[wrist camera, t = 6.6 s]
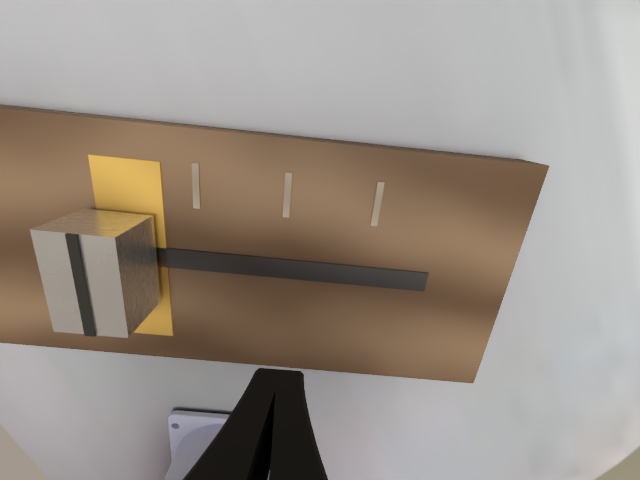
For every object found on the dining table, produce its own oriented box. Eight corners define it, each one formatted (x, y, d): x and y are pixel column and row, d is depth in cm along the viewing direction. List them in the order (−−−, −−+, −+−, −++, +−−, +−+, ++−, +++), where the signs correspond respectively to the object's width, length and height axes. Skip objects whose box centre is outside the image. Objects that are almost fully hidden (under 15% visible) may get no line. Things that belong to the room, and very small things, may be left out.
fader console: (459, 358, 20) (473, 384, 18) (28, 320, 19) (-6, 343, 17) (522, 159, 16) (550, 166, 14) (-30, 101, 15) (-83, 99, 13)
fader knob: (160, 301, 16) (127, 339, 13) (98, 295, 16) (51, 333, 13) (153, 215, 14) (113, 238, 12) (83, 208, 14) (27, 230, 11)
